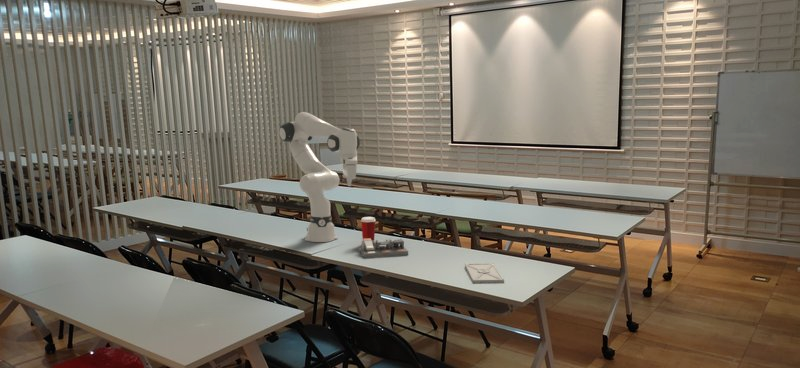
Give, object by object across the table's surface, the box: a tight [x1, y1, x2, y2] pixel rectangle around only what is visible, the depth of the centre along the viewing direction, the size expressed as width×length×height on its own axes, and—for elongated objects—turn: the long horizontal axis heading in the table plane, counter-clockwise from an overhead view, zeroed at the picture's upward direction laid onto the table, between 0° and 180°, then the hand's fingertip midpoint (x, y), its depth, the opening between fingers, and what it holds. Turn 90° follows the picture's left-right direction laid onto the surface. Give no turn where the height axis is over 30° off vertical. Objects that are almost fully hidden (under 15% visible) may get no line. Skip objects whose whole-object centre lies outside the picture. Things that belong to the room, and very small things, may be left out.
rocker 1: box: [362, 238, 374, 250], centre depth 305 cm, size 10×4×1 cm, turn 13°
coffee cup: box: [360, 216, 377, 242], centre depth 322 cm, size 8×8×15 cm
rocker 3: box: [392, 238, 403, 245], centre depth 309 cm, size 10×4×1 cm, turn 14°
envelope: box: [464, 262, 505, 284], centre depth 268 cm, size 24×2×14 cm
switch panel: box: [359, 238, 409, 259], centre depth 305 cm, size 14×23×6 cm, turn 104°
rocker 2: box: [378, 240, 389, 246], centre depth 307 cm, size 10×4×1 cm, turn 14°
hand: (349, 185), depth 303 cm, fingers closed
